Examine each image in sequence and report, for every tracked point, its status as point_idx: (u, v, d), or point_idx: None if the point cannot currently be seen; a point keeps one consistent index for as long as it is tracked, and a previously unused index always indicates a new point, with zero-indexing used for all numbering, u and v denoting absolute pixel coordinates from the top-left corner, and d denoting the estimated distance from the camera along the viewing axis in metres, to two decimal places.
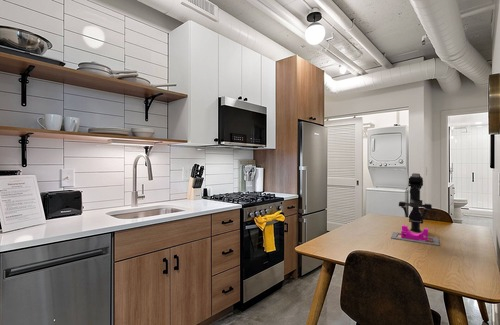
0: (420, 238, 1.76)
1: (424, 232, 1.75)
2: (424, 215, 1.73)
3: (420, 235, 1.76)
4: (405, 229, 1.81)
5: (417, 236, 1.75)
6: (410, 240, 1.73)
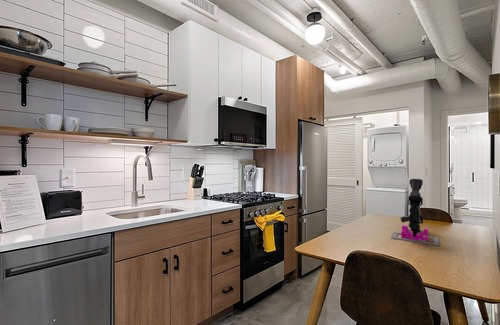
0: (420, 238, 1.76)
1: (424, 232, 1.75)
2: None
3: (420, 235, 1.76)
4: (405, 229, 1.81)
5: (417, 236, 1.75)
6: (410, 240, 1.73)
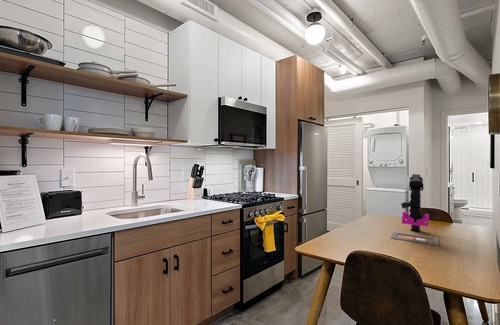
0: (421, 224, 1.76)
1: (425, 217, 1.75)
2: (413, 218, 1.76)
3: (421, 221, 1.76)
4: (406, 215, 1.81)
5: (418, 221, 1.75)
6: (410, 240, 1.73)
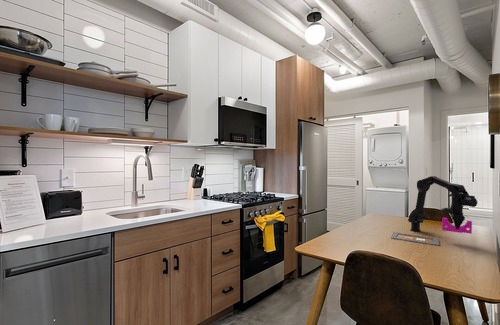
0: (463, 231, 1.67)
1: (468, 224, 1.66)
2: (455, 225, 1.66)
3: (463, 228, 1.67)
4: (446, 221, 1.72)
5: (460, 228, 1.66)
6: (410, 240, 1.73)
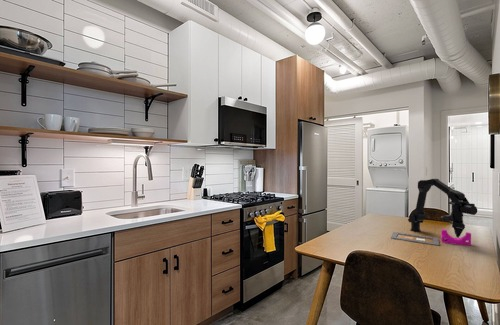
0: (462, 243, 1.68)
1: (467, 237, 1.66)
2: (455, 233, 1.65)
3: (462, 240, 1.68)
4: (445, 233, 1.72)
5: (460, 241, 1.66)
6: (410, 240, 1.73)
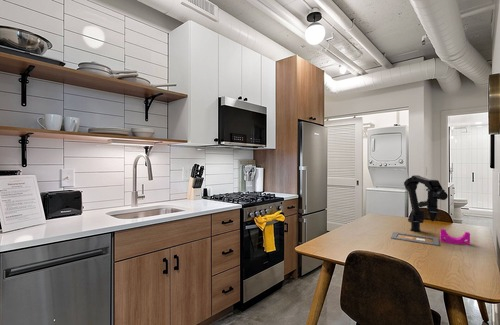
0: (461, 242, 1.69)
1: (466, 236, 1.68)
2: None
3: (461, 239, 1.69)
4: (444, 233, 1.74)
5: (459, 240, 1.68)
6: (410, 240, 1.73)
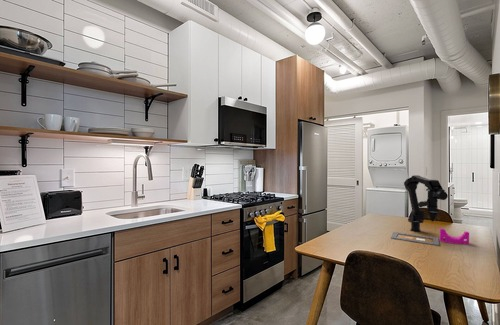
0: (461, 242, 1.70)
1: (465, 236, 1.68)
2: None
3: (461, 239, 1.70)
4: (444, 233, 1.74)
5: (458, 240, 1.68)
6: (410, 240, 1.73)
